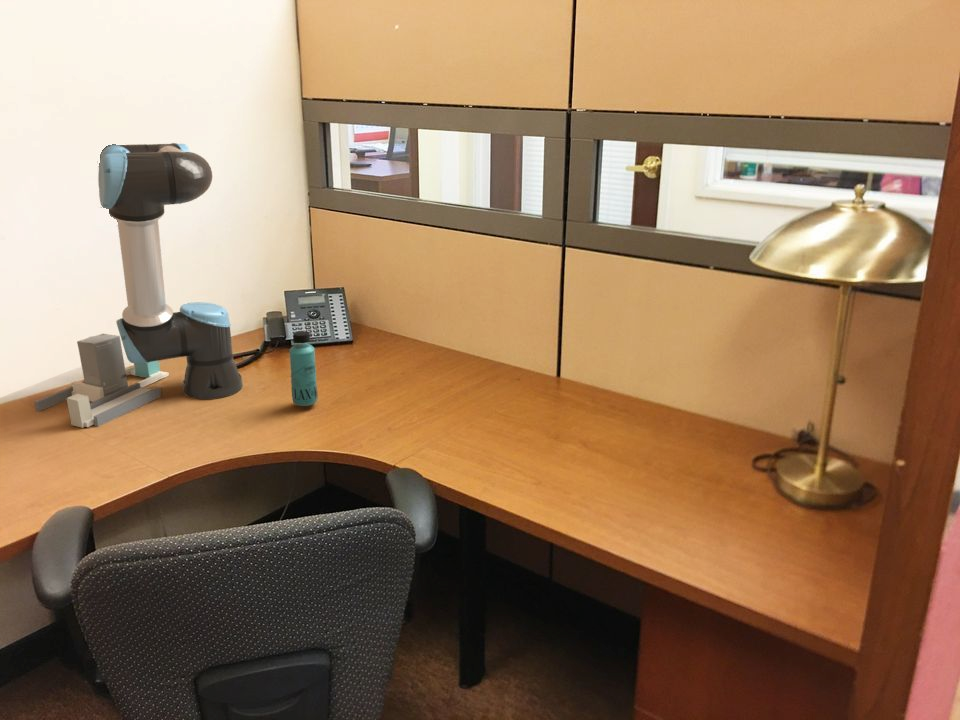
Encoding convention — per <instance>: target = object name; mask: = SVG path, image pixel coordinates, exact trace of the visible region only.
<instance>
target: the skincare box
mask: <svg viewBox="0 0 960 720" xmlns="http://www.w3.org/2000/svg"><path fill="white" fill-rule="evenodd" d="M121 342H122V340H121V336H120V335H115V334H108V333H100V334H98V335H93V336H88V337H86V338H84V339H80V340H78V341H77V342H76V344H77V348H78V354H79V358H80V359H79V360H80V364H81V369H82V370H81V371H82V376H83V379H84V380H83V381H85V384H90V385H94V386H98V387H103V392H104V397H105V396H107V395H110V394H112V393H114V392H117V391H119V390H121V389H123V388H126V387H128V386H129V385H128V378H127V375H126V371H125V369H126V366H125V360H124V354H123V353H124V352H123V348H122V347H123V346H122V343H121Z"/></svg>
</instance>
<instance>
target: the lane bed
mask: <svg viewBox="0 0 960 720" xmlns="http://www.w3.org/2000/svg"><path fill="white" fill-rule="evenodd" d="M80 382H81V383H85V381H84V380H83V381H80ZM138 388H140V383H138V382H135V383H132V384H131V385H128V387H126V388H123V389H121V390H119V391H117V392H114V393H112V394H110V395H107V396H105V397H103V398H101V399H98V400H96V401H94V402H89V403H90V408H91V409H93V408H96V407H98V406H100V405H102V404H105V403H107V402H109V401H111V400H113V399H116V398H118V397H120V396H122V395H125V394H127V393H129V392H131V391H133V390H136V389H138ZM72 391H73V386H72V385H71V386H69V387H66V388H64V389H62V390H59V391H57V392H54V393H52V394H49V395H47V396H45V397H42V398H39V399H37V400H35V401H34V407H35V411H36V412H42V411H44V410H47V409H49V408H50V407H52V406H56V405H57V404H60V403H62V402H65V401H67V398H68V397H70V396H72V393H71V392H72ZM161 392H162V391H161V388H160V387H159V386H156V387H154V388H152V389H151V390H150V391H147V392H145V393H143V394H141V395H139V396H137V397H134V398H132V399H130V400H128V401H126V402H124V403H121V404H119V405H117V406H115V407H113V408H111V409H108V410H106V411H104V412H102V413H100V414H97V415H95V416H94V421H95V424H94V426H95V427H101V426H103V425H104V424H107V423H109V422H111V421H113V420H115V419H117V418H119V417H121V416H123V415H125V414H128V413H130V412H131V411H134V410H135V409H138V408H140V407H142V406H144V405H146V404H148V403H151V402H153V401H155V400H156V399H158V398H161V397H162V393H161Z"/></svg>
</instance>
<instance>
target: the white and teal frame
mask: <svg viewBox="0 0 960 720" xmlns="http://www.w3.org/2000/svg"><path fill="white" fill-rule="evenodd" d="M133 365H134V366H129V367H127V368H125V371H126V376H128V375H132V376H135V377H141V378H145V379H143V380H140V381H139V382H137V383H140V387H142V388H145V387H147V386H149V385H151V384H153V383H155V382H157V381H160V380H162V379H165V378H166V377H168V376H170V375H169V374H170V373H169V372H167V371H162V370H161V369H160V360H159V361H153V362H149V363H133ZM81 382H82V381H72V382H71V386H73V391H72V392H71V393H72V396H73V395H75V394H81V395H85V396H88V397H89V402H90V403H92V402H94V401H96V400H98V399H101V398H103V397H104V392H103V387H98V386H94V385H90V384H85V383H81Z"/></svg>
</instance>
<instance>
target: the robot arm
mask: <svg viewBox="0 0 960 720" xmlns="http://www.w3.org/2000/svg"><path fill="white" fill-rule="evenodd" d="M97 179H98V181H97V183H98V196H99V202H100V203H99V204H100V206H101V208H102V207H103V208H106V209H109V214H110V216H111V217H113V218H114V219H116V220H117V222H118V225H117V228H118V229H117V230H118V238H119V246H120V252H121V253H120V254H121V260H122V268H123V277H124V278H123V279H124V285H125V292H126V293H125V295H126V300H127V301H126V302H127V306H126V307H125V308H124V309H123V311H122V316H121V317H120V318H119V319H117V320H115V321H116V325H117V329H118V332H119V336H120V341H121V342H122V343H121V344H122V347H123V350H124V352H125V355H126V358H127V360H128V361H129V363H131V364H134V363H149V362H153V361H159V362H160V361H164V360H170V359H178V358H185V357H186V368H185V372H184V380H182V381H183V382H182V391H183V394H184V395H185V396H187V397H189V398H192V399H196V400H197V399H198V400H213V399H214V400H215V399H220V398H225V397H228V396H231V395H234V394H236V393H238V392H240V390H242V388H243V387H244V386H243V377H242V375H241V374H240V373H239V370H238V366H237V364H236V362H235V360H234V353H233V345H232V334H231V321H230V317H229V312H228V310H227V309H226V308H225V307H223V306H222V305H219V304H216V303H211V302H189V303H188V302H187V303H183V304H182V305H180V308H179V311H176V312H174V310H173V308H172V307H171V306H170V305H169V304H167V303H166V293H165V292H166V291H165V282H164V280H165V279H164V272H163V271H164V270H163V260H162V249H161V239H160V228H159V220H160V219H161V218H162V217H163V216H164V214H165V206H168V205H179V204H180V205H181V204H185V203H189V202H193V201H195V200H197V199H198V198H200V197H201V196H203V194H205V193H206V192H207V191H208V189H209V188H210V187H211V184H212V181H213V171H212V168H211V166H210V164H209V162H208V161H207V160H206V158H204V157H203V156H201V155H199V154H198V153H195V152H191V151H190V150H189V147H188V145H186V144H185V143H178V142H177V143H176V142H172V143H155V144H154V143H153V144H145V143H144V144H142V143H141V144H140V143H139V144H126V145H116V144H112V145H108V146H106V147H105V148H104V149H103V150H102V152H101V154H100V163H99V166H98V176H97Z"/></svg>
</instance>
